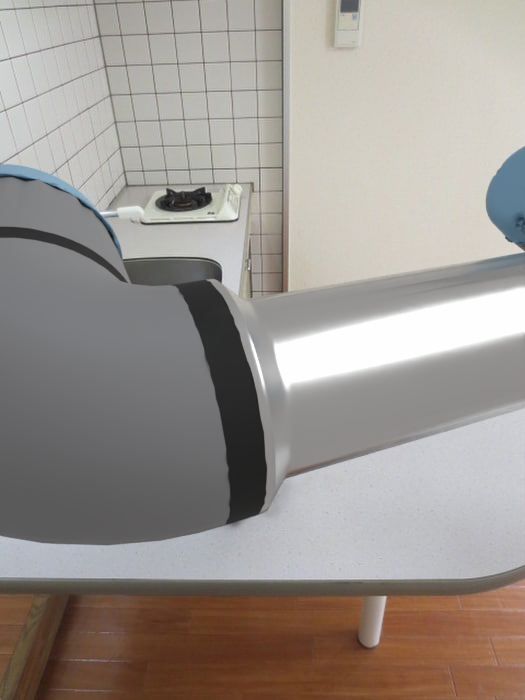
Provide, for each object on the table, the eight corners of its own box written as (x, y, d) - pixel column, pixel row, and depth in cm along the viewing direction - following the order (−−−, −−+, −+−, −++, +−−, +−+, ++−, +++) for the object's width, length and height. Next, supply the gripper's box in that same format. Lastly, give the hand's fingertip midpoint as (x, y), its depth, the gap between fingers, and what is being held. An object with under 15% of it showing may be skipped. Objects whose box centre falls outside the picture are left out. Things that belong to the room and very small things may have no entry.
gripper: (534, 380, 48) (346, 461, 63) (531, 311, 58) (369, 396, 73) (484, 321, 47) (304, 418, 62) (490, 261, 57) (334, 357, 72)
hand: (340, 406), depth 67 cm, fingers closed
